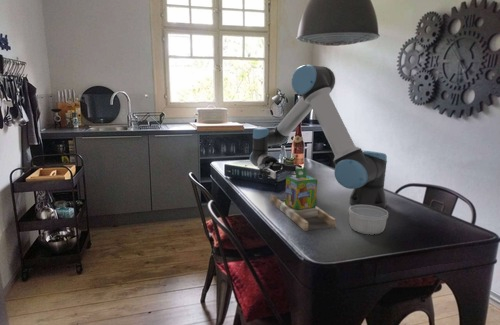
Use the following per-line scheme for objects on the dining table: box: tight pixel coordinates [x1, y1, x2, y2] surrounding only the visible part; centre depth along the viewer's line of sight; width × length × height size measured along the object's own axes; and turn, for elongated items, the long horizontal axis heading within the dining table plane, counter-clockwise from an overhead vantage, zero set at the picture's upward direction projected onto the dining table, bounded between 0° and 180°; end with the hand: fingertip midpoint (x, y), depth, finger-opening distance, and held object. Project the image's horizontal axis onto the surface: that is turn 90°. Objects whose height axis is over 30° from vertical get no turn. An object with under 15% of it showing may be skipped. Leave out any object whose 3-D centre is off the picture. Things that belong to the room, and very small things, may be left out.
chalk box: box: [284, 167, 318, 210], centre depth 135 cm, size 9×9×15 cm
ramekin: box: [348, 205, 389, 236], centre depth 122 cm, size 13×13×7 cm
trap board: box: [270, 194, 337, 232], centre depth 137 cm, size 33×12×3 cm, turn 18°
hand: (289, 174), depth 143 cm, fingers open, 13 cm apart
